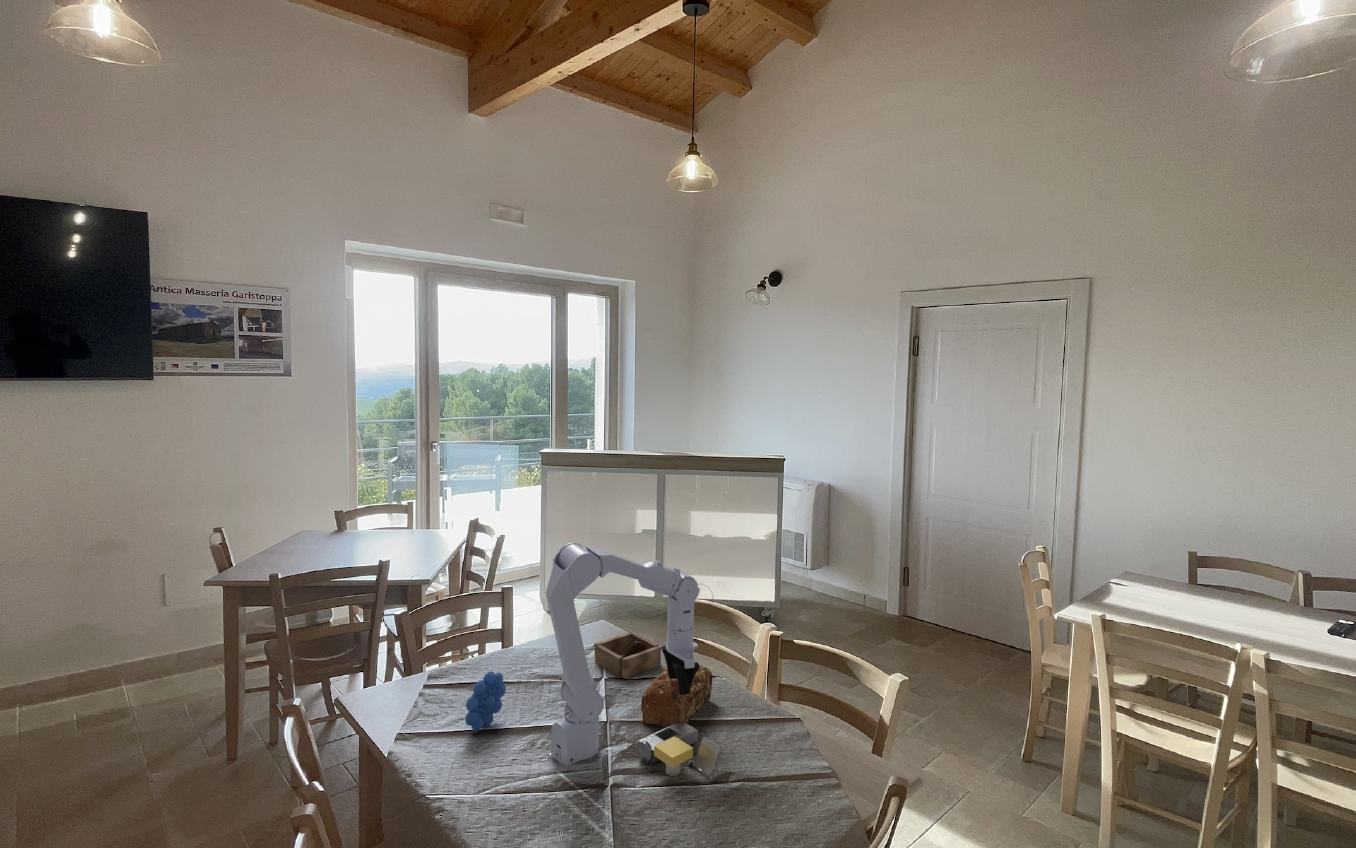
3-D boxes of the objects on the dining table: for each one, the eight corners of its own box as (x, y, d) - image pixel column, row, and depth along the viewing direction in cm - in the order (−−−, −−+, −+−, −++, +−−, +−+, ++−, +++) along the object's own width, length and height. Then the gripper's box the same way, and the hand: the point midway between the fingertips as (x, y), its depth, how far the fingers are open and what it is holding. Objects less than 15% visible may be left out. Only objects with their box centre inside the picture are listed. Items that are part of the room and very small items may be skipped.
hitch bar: (688, 801, 128) (689, 774, 128) (635, 763, 140) (635, 738, 140) (735, 774, 137) (736, 749, 136) (681, 740, 149) (681, 717, 148)
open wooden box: (622, 679, 177) (623, 660, 176) (592, 661, 186) (592, 644, 186) (662, 664, 186) (662, 646, 185) (631, 648, 195) (631, 631, 195)
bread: (680, 738, 150) (681, 694, 149) (638, 726, 155) (638, 683, 154) (713, 701, 167) (714, 661, 166) (674, 691, 171) (675, 652, 170)
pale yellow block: (671, 785, 132) (672, 758, 131) (653, 772, 136) (654, 746, 135) (692, 774, 135) (692, 747, 135) (674, 762, 139) (674, 736, 139)
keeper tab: (712, 781, 133) (709, 781, 133) (692, 768, 138) (689, 768, 137) (723, 747, 135) (720, 747, 134) (703, 735, 139) (700, 735, 138)
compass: (631, 655, 191) (631, 630, 191) (646, 666, 185) (647, 639, 184) (606, 662, 187) (606, 636, 186) (621, 673, 180) (621, 646, 179)
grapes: (490, 709, 160) (490, 660, 159) (512, 717, 157) (512, 666, 156) (452, 733, 150) (451, 680, 149) (475, 741, 147) (474, 687, 146)
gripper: (708, 637, 145) (707, 699, 147) (687, 613, 159) (685, 669, 160) (677, 640, 143) (675, 703, 145) (658, 615, 157) (656, 673, 158)
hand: (678, 685), depth 152 cm, fingers open, 7 cm apart
